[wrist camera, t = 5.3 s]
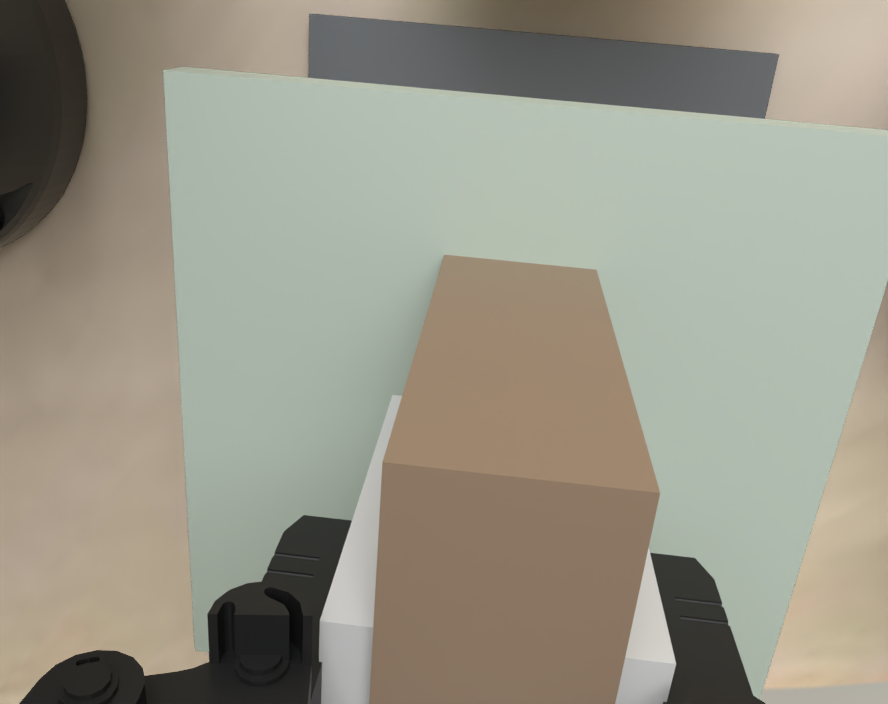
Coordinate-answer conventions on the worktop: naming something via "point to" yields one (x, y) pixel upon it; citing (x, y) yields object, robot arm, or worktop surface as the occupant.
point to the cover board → (537, 183)
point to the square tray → (541, 65)
